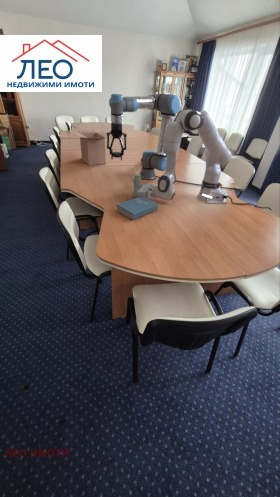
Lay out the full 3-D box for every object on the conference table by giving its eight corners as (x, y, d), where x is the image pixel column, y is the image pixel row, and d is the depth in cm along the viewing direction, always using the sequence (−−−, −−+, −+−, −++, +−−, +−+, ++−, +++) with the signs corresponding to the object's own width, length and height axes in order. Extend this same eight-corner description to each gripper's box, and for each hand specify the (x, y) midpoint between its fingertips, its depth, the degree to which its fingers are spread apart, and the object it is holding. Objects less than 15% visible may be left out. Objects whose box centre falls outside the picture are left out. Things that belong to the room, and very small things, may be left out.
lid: (121, 157, 155) (121, 154, 153) (112, 157, 153) (112, 154, 152) (120, 155, 159) (120, 151, 158) (111, 155, 158) (111, 151, 157)
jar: (133, 197, 167) (134, 176, 158) (132, 194, 171) (133, 173, 162) (140, 197, 168) (141, 176, 159) (139, 194, 172) (140, 173, 163)
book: (140, 202, 160) (141, 196, 157) (157, 210, 151) (157, 203, 148) (116, 211, 147) (116, 204, 144) (132, 220, 138) (133, 213, 135)
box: (116, 165, 229) (116, 136, 213) (83, 168, 214) (80, 137, 198) (102, 154, 259) (101, 128, 243) (71, 156, 244) (68, 129, 228)
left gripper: (101, 122, 141) (102, 160, 154) (131, 124, 141) (129, 162, 155) (103, 121, 147) (104, 157, 160) (131, 123, 147) (130, 159, 161)
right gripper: (158, 182, 168) (141, 179, 172) (148, 191, 153) (130, 187, 157) (157, 190, 172) (140, 187, 176) (147, 200, 157) (130, 196, 160)
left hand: (116, 159), depth 158 cm, fingers closed on lid, 6 cm apart
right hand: (135, 187), depth 166 cm, fingers closed on jar, 5 cm apart
